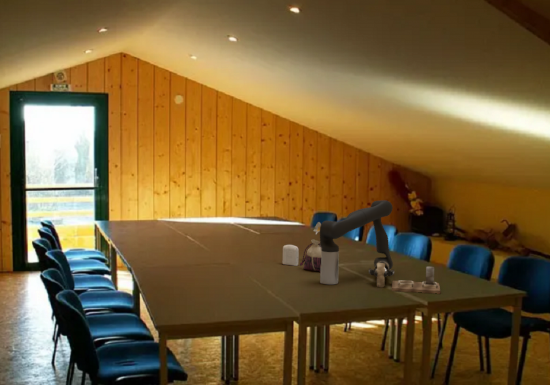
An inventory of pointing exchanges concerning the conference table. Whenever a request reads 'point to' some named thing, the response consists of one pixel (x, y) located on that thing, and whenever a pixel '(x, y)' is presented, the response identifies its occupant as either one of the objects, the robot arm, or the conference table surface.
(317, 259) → the pouch
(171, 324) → the conference table surface
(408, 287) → the pin board
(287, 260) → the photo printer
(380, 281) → the maple pin
